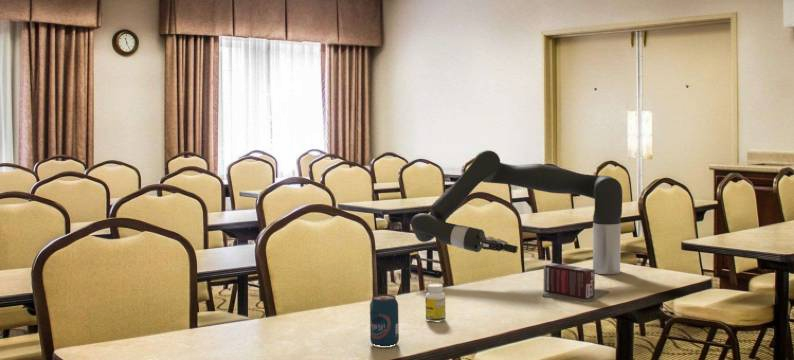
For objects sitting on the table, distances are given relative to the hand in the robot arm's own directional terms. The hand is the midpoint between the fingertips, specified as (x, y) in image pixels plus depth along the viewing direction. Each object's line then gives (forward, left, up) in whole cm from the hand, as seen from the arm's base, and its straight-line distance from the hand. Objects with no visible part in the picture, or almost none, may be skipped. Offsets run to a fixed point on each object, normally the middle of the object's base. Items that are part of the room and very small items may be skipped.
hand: (516, 249), depth 286 cm
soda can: (+78, +2, -13) cm, 79 cm away
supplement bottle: (+50, 0, -13) cm, 52 cm away
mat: (0, +20, -12) cm, 24 cm away
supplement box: (+1, +11, -7) cm, 13 cm away
